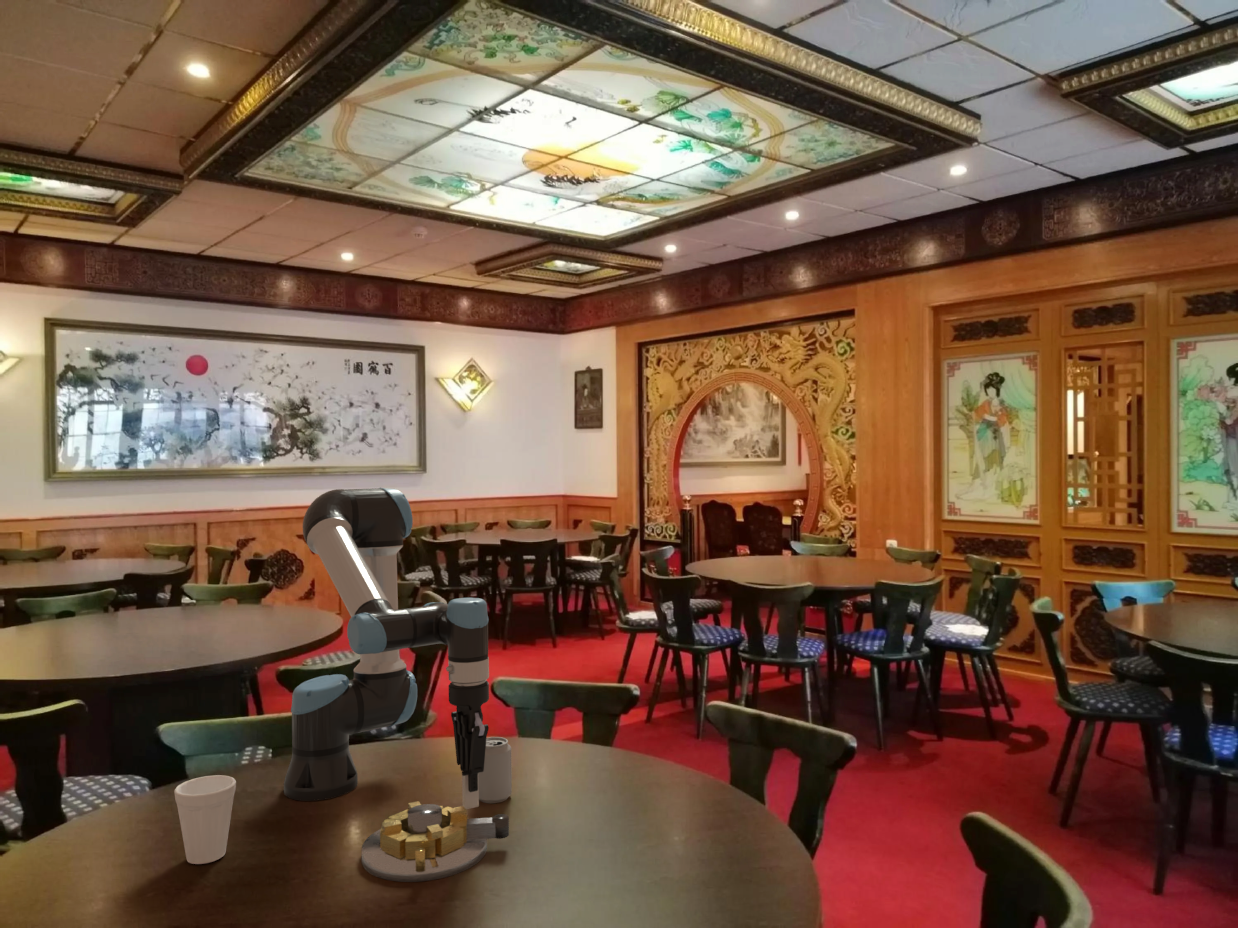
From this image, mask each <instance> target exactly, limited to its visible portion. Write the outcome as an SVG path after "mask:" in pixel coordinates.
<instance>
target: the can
mask: <svg viewBox="0 0 1238 928" xmlns="http://www.w3.org/2000/svg"><path fill="white" fill-rule="evenodd" d="M478 780H479V802H482V803H485V804H496V803H497V804H499V803H502V802H504V801H506V800H507V799H508V798H509V797H510V796H511V795H512V793H513V791H512V788H513V787H512V786H513V785H512V781H513V777H512V746H511V745H510V744H509V740H508V739H507V738H505V737H501V736H490V737H486V749H485V761H484V771H483V772H480V773H478Z"/></svg>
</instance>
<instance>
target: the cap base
mask: <svg viewBox="0 0 1238 928" xmlns="http://www.w3.org/2000/svg"><path fill="white" fill-rule="evenodd" d="M440 806H441V805H438V804H434V803H424V804H421V805H418V806H415V807H412V808H411V809H409V811H408V833H410V834H422V833H427V826H431V825H436V824H438V825H439V826H440V827H441V828H442V808H441V807H440ZM380 830H381V828H380V829H378V830H376V831H374V832H373V833H372V834H370V835H368V837H367V838H366V839H364V841H363V843H362V845H361V864H362V865H361V866H362V867H363V868H364V870H365V871H366V872H367V873H369V874H370V875H372V876H374V877H376V878H379V879H382V880H387V881H393V882H403V883H413V882H414V883H416V882H417V883H420V882H427V881H433V880H434V881H436V880H440V879H443V878H447V877H452V876H453V875H457V874H459V873H462V872H464V871H466V870H468V869H471V868H472V867H474V866H475V865H477V864H478V863H479V862H480V861H481V860H482V859H483V858H484V856H485V855H486V853H487V850H488V839H473V840H467V843H464V846H462V847H460V848H458V849H456V850H453V851H451V852H449V853H447V854H445V855H443V856H440V855H438V854H436V856H435V858H425V849H423V848H419V849H417V850H416V851H415V859H406V856H404V857H402V858H397V857H395V856H393V855H391V854H388V853H386V852H384V851H382V848H380Z"/></svg>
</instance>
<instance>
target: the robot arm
mask: <svg viewBox="0 0 1238 928" xmlns="http://www.w3.org/2000/svg"><path fill="white" fill-rule="evenodd" d="M413 523H414V522H413V513H412V508H411V505H410V503H409V500H408V498H407V497H406V496H405V494H404V493H403V492H402V491H400V490H399V489H397V488H387V487H386V488H385V487H378V488H377V487H376V488H375V487H374V488H347V489H345V488H338V489H332V490H328V491H326V492H323V493H322V494H321V495H319V496H317V497H316V498H315V499H314V500H313V501H312V502H311V503H310V505H309V506H308V508H307V509H306V512H305V513H304V516H303V520H302V535H303V538H304V540H305V543H306V545H307V547H308V548H309V550H310V551H311V552H312V553H314V554H316V555H318V557H319V558H320V561H321V562H322V564H323V566H324V569H325V570H326V571H327V574H328V575H329V578H330V580H331V582H332V583H333V585H334V587H335V589H336V591H337V593H338V595H339V597H340V598H341V600H342V602H343V604H344V606H345V607H346V610H347V611H348V614H349V616H350V618H349V621H348V623H347V629H346V631H347V632H346V634H347V639H348V644H349V648H350V649H351V651H352V652H354V653H355V654H358V655H359V657H360V658H359V662H358V664H357V665H356V666H355V667H354V668H353V679H349V677H348V676H346V674H341V673H339V674H338V673H336V674H335V673H334V674H330V675H329V674H326V675H320V676H316V677H314V678H311V679H308V680H305V681H303V682H301V683H300V684H299V685H297V686H296V687H294V689H293V692H292V700H291V708H290V713H291V739H292V742H291V744H292V745H291V747H292V755H291V759H290V761H289V765H288V769H287V771H286V775H285V778H284V781H283V794H284V796H286V797H287V798H288V799H291V800H296V801H303V802H304V801H305V802H308V801H309V802H311V801H322V800H328V799H334V798H337V797H340V796H342V795H346V794H348V793H349V792H351V791H353V790H354V789H356V788H357V786H358V783H359V781H358V771H357V768H356V765H355V762H354V760H353V756H352V753H351V751H350V743H349V742H350V740H349V739H350V735H354V734H358V733H362V732H363V733H364V732H369V731H372V730H378V729H382V728H391V727H394V726H397V725H399V724H403V723H405V722H407V721H408V720H409V719H411V717H412V715H413V714H414V712H415V709H416V707H417V700H418V685H417V683H416V678H415V675H414V674H413V673H412V671H409V670H407V664H406V663H405V661H403V660H402V659H401V657H400V650H405V649H409V648H419V647H424V646H430V645H436V644H437V645H438V644H439V645H440V644H442V645H445V646H447V661H448V666H446V668H445V669H446V672H448V681H449V684H448V702H449V704H450V705H451V706H455V707H456V711H452V712H451V714H450V717H451V720H452V725H453V735H454V737H453V739H454V746H455V757H456V764H457V765H458V766H460V767H459V769H460V771H461V788H462V789H461V791H462V792H461V796H462V799H461V800H462V803H461V804H462V805H461V806H464V807H465V808H466V809H467V810H471V809H474V808H478V807H479V806H480V799H479V780H478V773H480V772H483V771H484V761H485V749H486V738H488V737H487V736H488V732H489V729H490V727H489V724H488V723H487V724H486V723H485V724H484V723H483V720H484V716H483V711H482V706H483V705H484V704H486V703H487V702H488V701H489V699H490V682H489V681H488V679H489V677H490V658H489V620H490V619H489V616H488V603H487V602H486V600H485V599H483V598H479V597H459V598H454V599H451V600H449V601H448V603H444V602H440V601H439V602H438V601H437V602H433V601H432V602H431V601H430V602H428V603H425V604H424V605H422V606H417V607H409V608H408V607H407V608H400V609H399V599H398V597H399V596H398V594H399V593H398V562H397V560H398V559H397V558H398V557H397V555H398V552H399V551H400V550H401V549H402V548H403V547H404V539H406V538H408V537H409V536H410V534H411V533H412V528H413Z"/></svg>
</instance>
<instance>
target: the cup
mask: <svg viewBox="0 0 1238 928" xmlns="http://www.w3.org/2000/svg"><path fill="white" fill-rule="evenodd" d="M236 789H237V781H236V779H235V778H234V777H232V776H229V775H223V774H222V775H220V774H217V775H216V774H215V775H205V776H200V777H196V778H192V779H190V780H186V781H183V782H182V783H180V784H178V785H177V786H176V788H175V789H174V790H173V792H174V799H175V803H176V806H177V811H178V812H177V813H178V818H179V824H180V830H181V834H182V835H181V836H182V840H183V847H184V852H185V857H186V858H185V859H186V861H187V863H189V864H193V865H194V864H195V865H202V864H209V863H212V862H215V861H217V860H219V859H222V857H224V856H225V854H226V851H227V847H228V846H227V845H228V838H229V830H230V824H231V818H232V812H233V811H232V810H233V803H234V798H235V793H236Z"/></svg>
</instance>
